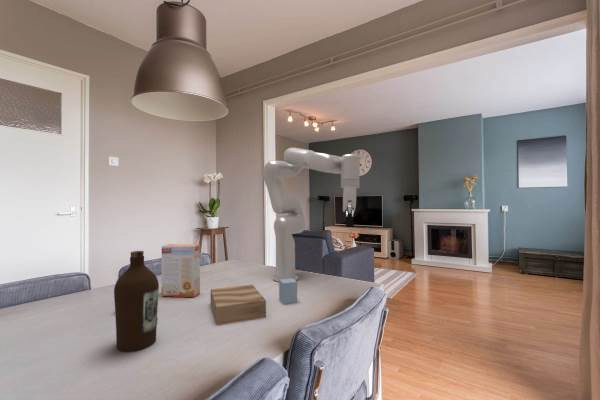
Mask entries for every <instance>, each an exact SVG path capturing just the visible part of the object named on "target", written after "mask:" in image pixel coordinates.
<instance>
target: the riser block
mask: <svg viewBox="0 0 600 400" xmlns="http://www.w3.org/2000/svg"><path fill="white" fill-rule="evenodd" d="M210 307H211V309H212V313H213V316H214V317H213V318H214V320H215V325H216V326H219V325H223V324H224V325H225V324H229V323H235V322H237V323H238V322H242V321H249V320H256V319H261V318H266V317H267V300H266V298H264V296H263V295H262V294H261V293H260V292H259V290H258V289H257V288H256V287H255V286H254V285H253V284H246V285H236V286H228V287H219V288H218V287H217V288H211V289H210Z"/></svg>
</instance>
